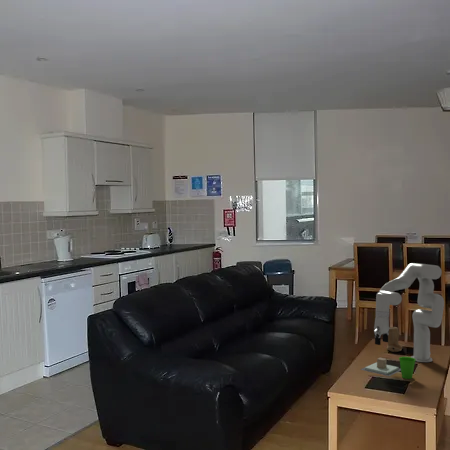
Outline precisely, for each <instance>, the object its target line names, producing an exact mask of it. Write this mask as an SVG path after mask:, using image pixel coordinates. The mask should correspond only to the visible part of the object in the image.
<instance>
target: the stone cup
mask: <svg viewBox="0 0 450 450" xmlns="http://www.w3.org/2000/svg"><path fill="white" fill-rule="evenodd" d="M389 327H390V328H389V335H388V342H387V345H386V350H388V351H390V352H393V353H397V352H401V351H402V349H403V345H401V344H399V338H400V331H399V328H398V327H396V326H389Z"/></svg>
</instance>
